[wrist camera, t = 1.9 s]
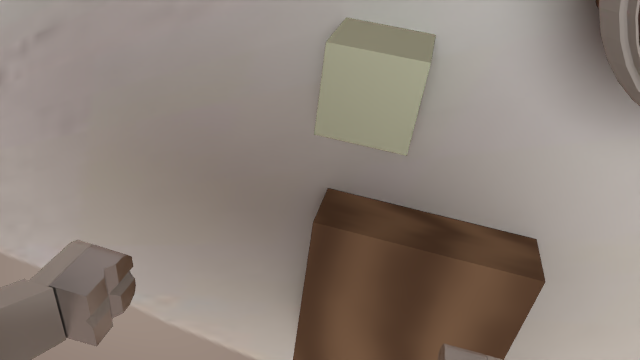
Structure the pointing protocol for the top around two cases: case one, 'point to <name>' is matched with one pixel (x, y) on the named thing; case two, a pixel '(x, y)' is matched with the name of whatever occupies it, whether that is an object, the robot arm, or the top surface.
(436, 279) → the walnut base
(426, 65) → the sage block
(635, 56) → the food container
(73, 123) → the top surface
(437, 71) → the top surface
